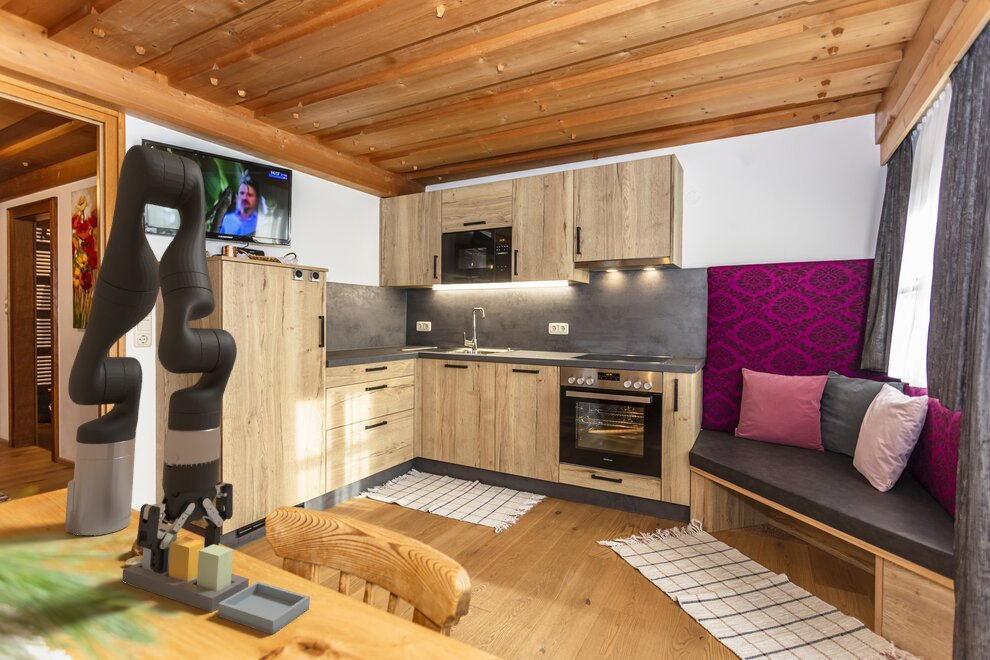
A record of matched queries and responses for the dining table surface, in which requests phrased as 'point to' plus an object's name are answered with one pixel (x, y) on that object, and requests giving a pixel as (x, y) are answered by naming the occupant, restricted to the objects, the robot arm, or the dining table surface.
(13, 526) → the dining table surface
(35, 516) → the dining table surface
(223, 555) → the block
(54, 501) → the dining table surface
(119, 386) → the robot arm
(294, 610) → the tray
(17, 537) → the dining table surface
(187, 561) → the block
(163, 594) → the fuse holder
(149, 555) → the block
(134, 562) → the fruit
